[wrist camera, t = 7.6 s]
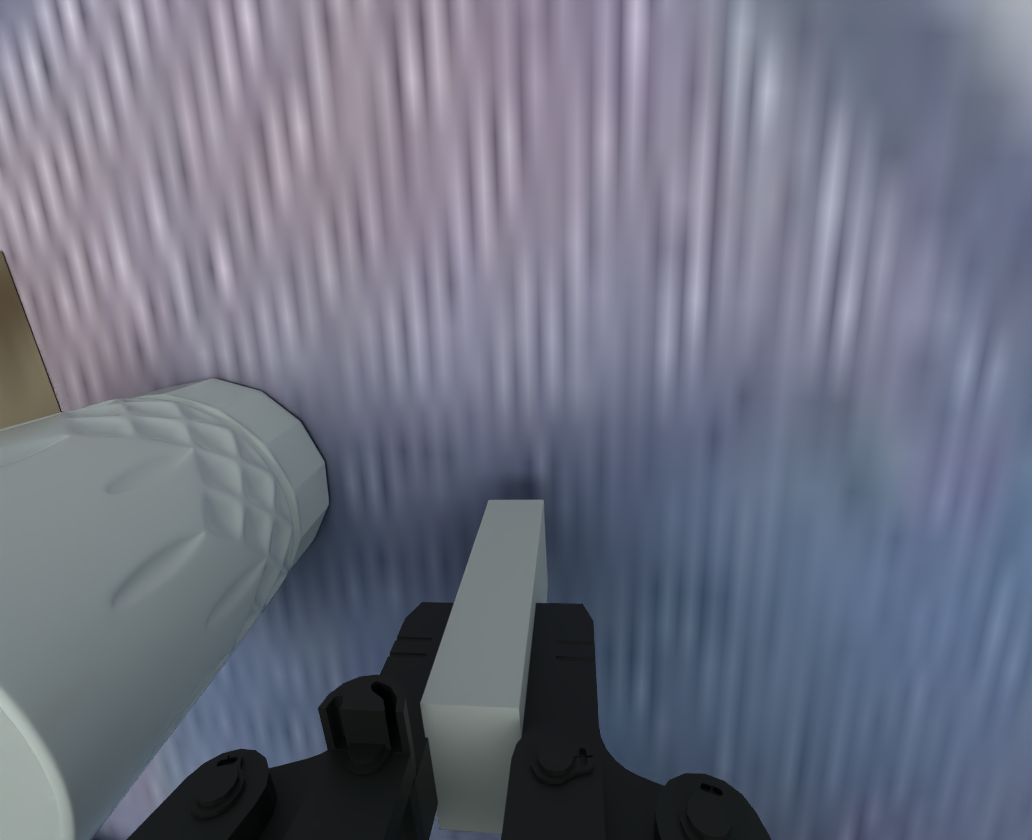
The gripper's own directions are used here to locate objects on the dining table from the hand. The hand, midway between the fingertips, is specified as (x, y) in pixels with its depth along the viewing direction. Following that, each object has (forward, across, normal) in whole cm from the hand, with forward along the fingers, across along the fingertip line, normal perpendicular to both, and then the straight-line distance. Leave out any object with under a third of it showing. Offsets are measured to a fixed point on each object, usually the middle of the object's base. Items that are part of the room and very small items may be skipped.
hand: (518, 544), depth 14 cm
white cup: (+3, +10, -1) cm, 10 cm away
